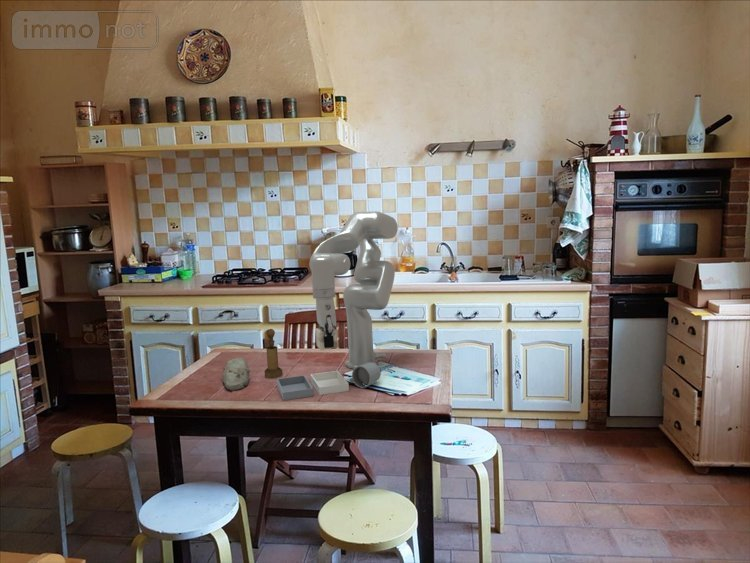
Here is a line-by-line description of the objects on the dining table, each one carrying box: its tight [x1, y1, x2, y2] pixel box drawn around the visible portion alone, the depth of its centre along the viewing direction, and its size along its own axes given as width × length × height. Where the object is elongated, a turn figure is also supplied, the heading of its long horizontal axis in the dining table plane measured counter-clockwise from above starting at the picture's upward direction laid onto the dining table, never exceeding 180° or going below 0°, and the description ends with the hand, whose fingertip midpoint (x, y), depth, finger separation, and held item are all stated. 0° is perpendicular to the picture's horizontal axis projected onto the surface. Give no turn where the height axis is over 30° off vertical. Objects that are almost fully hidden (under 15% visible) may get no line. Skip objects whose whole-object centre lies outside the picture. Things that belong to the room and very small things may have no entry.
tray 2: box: [310, 370, 350, 396], centre depth 193 cm, size 10×15×3 cm, turn 18°
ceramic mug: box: [349, 363, 382, 389], centre depth 195 cm, size 11×8×8 cm
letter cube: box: [315, 327, 339, 351], centre depth 191 cm, size 6×6×6 cm
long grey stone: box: [222, 357, 251, 391], centre depth 209 cm, size 35×5×10 cm
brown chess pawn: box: [264, 328, 283, 379], centre depth 206 cm, size 7×6×18 cm
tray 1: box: [275, 374, 315, 401], centre depth 190 cm, size 10×15×3 cm, turn 18°
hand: (326, 344), depth 191 cm, fingers closed on letter cube, 6 cm apart
